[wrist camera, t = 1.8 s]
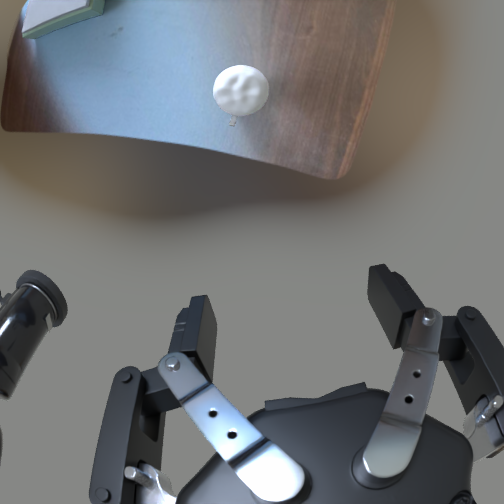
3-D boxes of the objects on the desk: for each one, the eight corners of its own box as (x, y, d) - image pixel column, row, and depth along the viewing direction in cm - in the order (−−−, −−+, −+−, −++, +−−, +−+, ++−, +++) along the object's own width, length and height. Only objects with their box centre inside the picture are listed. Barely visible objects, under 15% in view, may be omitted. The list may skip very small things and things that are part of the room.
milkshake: (215, 117, 28) (202, 120, 19) (226, 72, 26) (218, 56, 17) (255, 125, 29) (260, 132, 20) (267, 81, 26) (277, 68, 17)
